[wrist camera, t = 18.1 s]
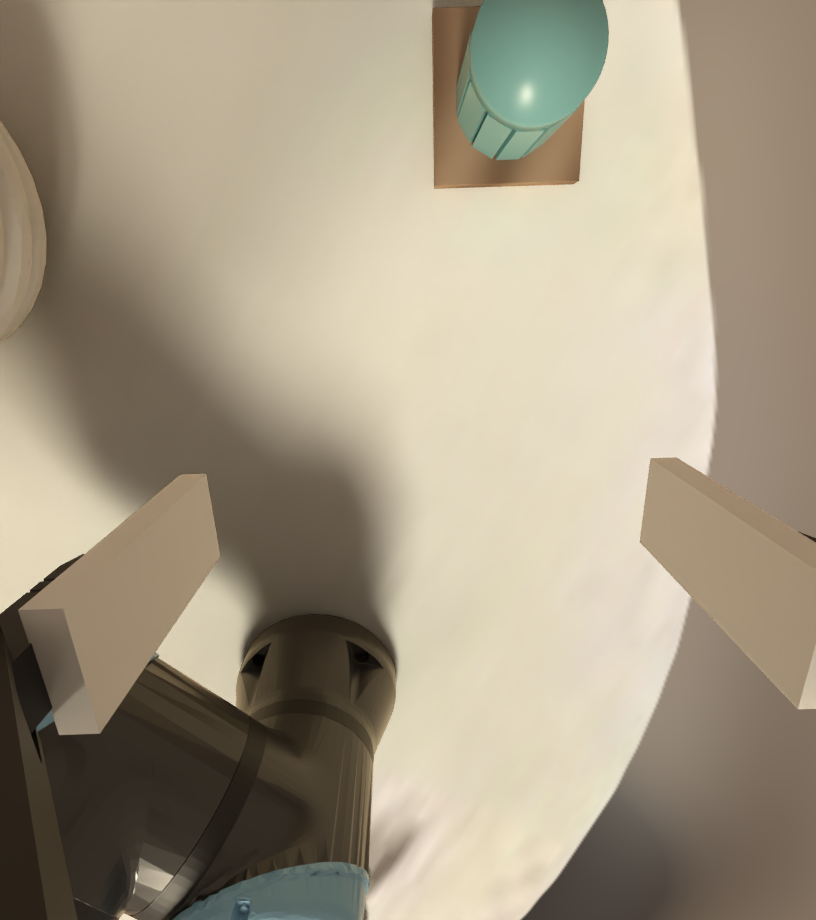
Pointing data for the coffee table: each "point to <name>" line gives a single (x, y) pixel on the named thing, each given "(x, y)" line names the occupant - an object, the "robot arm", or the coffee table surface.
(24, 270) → the table lamp
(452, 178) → the post base
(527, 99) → the cap
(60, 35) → the coffee table surface
